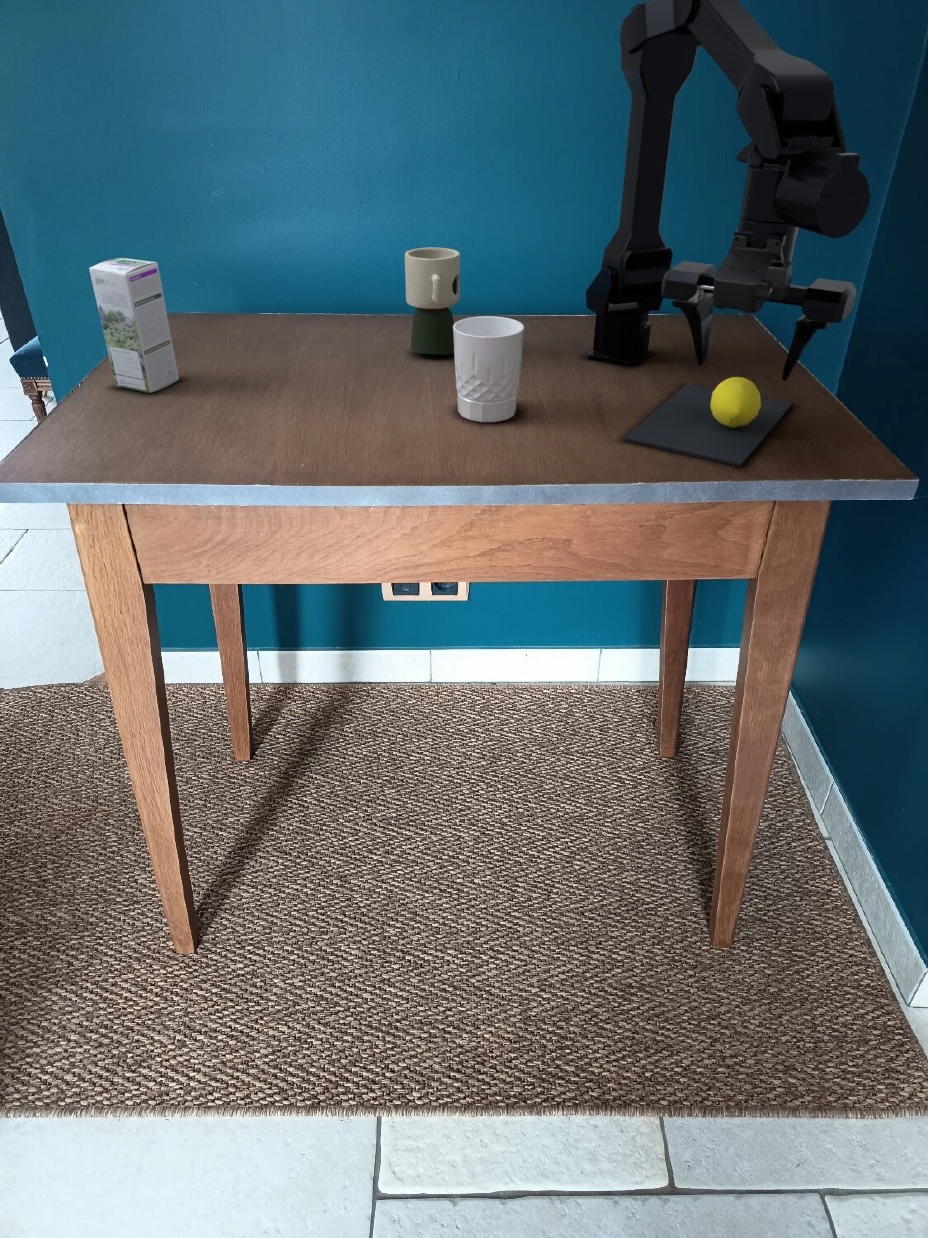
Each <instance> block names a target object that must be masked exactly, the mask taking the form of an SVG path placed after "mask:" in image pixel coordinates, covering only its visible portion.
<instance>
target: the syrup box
mask: <svg viewBox="0 0 928 1238" xmlns="http://www.w3.org/2000/svg"><path fill="white" fill-rule="evenodd" d="M88 269H89V274H90V280H91V284H92V289H93V292H94V296H95V301H96V305H97V306H96V307H97V310H98V314H99V318H100V319H99V320H100V323H101V327H102V333H103V336H104V337H103V338H104V341H105V345H106V350H107V354H108V358H109V363H110V367H111V371H112V376H113V380H114V381H113V382H114V385H115V387H116V388H120V389H121V388H122V389H127V390H131V391H138V392H143V393H146V394H147V393H148V394H151V393H155V392H158V391H160V390H162V389H165V388H166V387H168V386H170V385H172V384H175V383H176V382H177V381H179V380H180V377H179V372H178V366H177V362H176V361H177V360H176V356H175V351H174V345H173V339H172V335H171V329H170V324H169V319H168V313H167V307H166V302H165V301H166V300H165V296H164V290H163V285H162V279H161V273H160V267H159V265H158V262H156V261H149V260H142V259H133V258H127V257H125V258H124V257H116V258H112V259H108V260H104V261H101V262H99V263H97V264H94V265H93V266H90V267H88Z"/></svg>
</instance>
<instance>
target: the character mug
mask: <svg viewBox="0 0 928 1238" xmlns="http://www.w3.org/2000/svg"><path fill="white" fill-rule="evenodd" d="M460 255H461V254H460V252H459V251H458V250H456V249H453V248H445V247H433V246H432V247H431V246H429V247H418V248H413V249H410V250H407V251H405V253H404V272H405V273H404V274H405V301H406V304H408V305H409V306H411V307H414V308H415V310H414V312H413V316H412V325H411V332H410V333H411V336H410V351H412V352H413V353H415V354H424V355H425V354H426V355H432V356H433V357H437V356H438V355H443V356H447V355H450V354H454V336H453V325H454V324H455V321H454V314H453V312H452V310H451V307H452V306H455V305H457V304H459V302H460V298H461V256H460Z"/></svg>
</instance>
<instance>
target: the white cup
mask: <svg viewBox="0 0 928 1238" xmlns="http://www.w3.org/2000/svg"><path fill="white" fill-rule="evenodd" d="M524 333H525V326H524V324H523V323H522V322H521V321H519V320H516V319H513V318H509V317H503V316H496V315H495V316H493V315H480V316H471V317H466V318H462V319H459V320H458V321H455V322H454V325H453V336H454V353H453V355H454V357H453V359H454V372H455V387H456V391H457V395H456V396H457V412H458V413H459V414H460V416H461V417H463V418H464V419H467V420H469V421H473V422H479V423H497V422H502V421H506V420H509V419H510V418H512V417H514V416H515V413H516V412H517V406H518V405H517V404H518V392H519V389H520V379H521V369H522V359H523V345H524Z"/></svg>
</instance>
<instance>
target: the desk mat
mask: <svg viewBox="0 0 928 1238" xmlns="http://www.w3.org/2000/svg"><path fill="white" fill-rule="evenodd" d="M714 390H715V388H714V387H713V388H712V387H708V386H702V385H697V384H692V383H686V384H685V385H684V386H682V387H681V388H680V389H678V391H676V392H675V393H674V394H673V395H671V397H670V398H669V399H667V400H666V401H665V402H664V403H663V404H661V405H660V406H659V407H658V408H657V409H656V410H654V411H653V412H652V413H651V414H650V415H649V416H648V417H646V418H645V419H644V420H643V421H642V422H640V423H639V424H638V425H637V426H636V427H635V428H634V429H632V430H631V431H630V432H629V433H627V434H626V436H624V438H623V441H624V442H627V443H628V442H629V443H632V444H636V445H641V446H645V447H650V448H655V449H660V450H663V451H664V450H665V451H668V452H674V453H678V454H681V455H686V456H691V457H695V458H700V459H703V460H708V461H714V462H717V463H723V464H726V465H730V466H736V467H742V466H743V465H744V464H745V462H746V461H747V460H748V459H749V458H750V456H751V455H752V454H753V453H754V452H755V451H756V449H757V448H758V447H759V445H760V444H761V443H762V442H763V441H764V440H765V439H766V437H767V436H768V435H769V433H771V431H773V429H774V428H775V427H776V426H777V424H778V423H779V422H780V421H781V420H782V418H783V417H784V416H785V415H786V413H787V412H788V411H789V410H790V409H791V407H792V405H793V403H792V402H787V401H781V400H776V399H771V398H765V397H761V396H760V399H761V407H760V409H759V412H758V415H757V416H756V417H755V418H754V419H753V420H752V421H751V422H750V423H749V424H748V425H744V426H739V427H735V428H731V427H728V426H724V425H723V424H721V423H720V422H719V421H718V420H717V419H716V418H715V417H713V414H712V410H711V407H710V405H711V398H712V393H713V391H714Z"/></svg>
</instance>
